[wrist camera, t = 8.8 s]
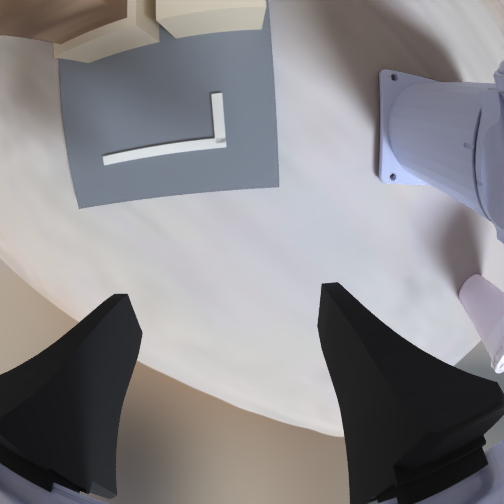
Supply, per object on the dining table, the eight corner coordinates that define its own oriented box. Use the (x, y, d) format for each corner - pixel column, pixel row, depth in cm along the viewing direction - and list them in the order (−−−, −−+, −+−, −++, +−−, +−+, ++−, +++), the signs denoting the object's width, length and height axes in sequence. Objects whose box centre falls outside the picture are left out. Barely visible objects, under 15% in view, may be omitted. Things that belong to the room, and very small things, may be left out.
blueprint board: (262, -36, 10) (267, -74, 6) (277, 183, 18) (288, 208, 13) (68, 9, 10) (29, -5, 6) (85, 204, 18) (48, 232, 14)
